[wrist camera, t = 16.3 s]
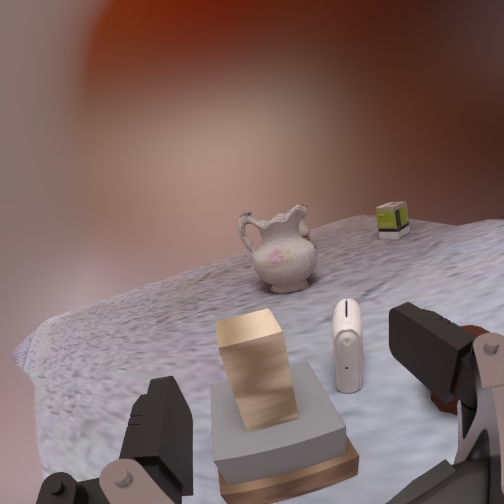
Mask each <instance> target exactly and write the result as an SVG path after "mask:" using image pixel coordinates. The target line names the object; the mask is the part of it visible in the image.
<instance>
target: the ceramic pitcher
mask: <svg viewBox="0 0 504 504" xmlns="http://www.w3.org/2000/svg"><path fill="white" fill-rule="evenodd" d="M306 215H307V210H306V209H305V208H304V207H303V206H300V205H296V206H295V207H293V208H292V209H290V210H289V211H288V212H287V213H286V214H278V215H277V216H275V217H274V218H273V219H272V220H270V221H266V220H262V221H256V220H255V219H254V218H253V217H252V216H251V212H244V213H241V216H240V219H239V223H238V231H239V235H240V238H241V240H242V242H243V243H244V245H245V246H246V248H247V249H249V250H250V252H251V255H252V260H253V264H254V268H255V271H256V273H257V274H258V276H259V277H260V278H261V279H262V280H264V281H265V282H266V283H268V284H272V285H273V286H272V287H271V291H273V292H275V293H278V294H281V293H287V292H293V291H299V290H304V289H306V288H308V287H309V286H310V285H309V283H308V281H307V280H306V278H308V277H309V276H310V275H311V274H312V272H313V270H314V268H315V266H316V262H317V253H316V250H315V247H314V245H313V244H312V243H311V242H309V241H308V240H306V239H304V238H303V237H302V236H301V235H300V232H299V223H300V221H301V219H302V218H303V217H304V216H306ZM246 224H253V225H254V226H256V227H257V228H258V229H259V231H260V233H261V237H262V244H261V246H260V248H259V249H258V250H255V248H254V246H253V245H252V242H251V241H250V239H249V238H248V237H247V235H246V233H245V225H246Z"/></svg>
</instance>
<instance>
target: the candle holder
mask: <svg viewBox="0 0 504 504" xmlns="http://www.w3.org/2000/svg"><path fill="white" fill-rule="evenodd" d="M300 206H303V207H307V204H301V205H300ZM293 207H295V206H291V209H292V208H293ZM304 217H305V216H304ZM304 217H303V218H302V219H301V221H300V223H299V232H300V235H301V236H302V237H303V238H304V239H306V240H308V241H309V239H310V237H309V236H308V235H309V233H310V231H309V229H308V227H307V226H306V224H305V220H304ZM312 244H313V243H312ZM314 247H315V248H316V246H315V245H314Z"/></svg>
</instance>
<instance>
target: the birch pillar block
mask: <svg viewBox="0 0 504 504" xmlns="http://www.w3.org/2000/svg"><path fill="white" fill-rule="evenodd" d="M216 330H217V339H218V348H219V351H220V354H221V358H222V361H223V364H224V367H225V370H226V373H227V376H228V379H229V382H230V385H231V388H232V391H233V394H234V397H235V400H236V402H237V405H238V408H239V411H240V414H241V416H242V419H243V422H244V425H245V427H246V430H247V432H250V431H255V430H259V429H263V428H266V427H270V426H274V425H277V424H281V423H284V422H288V421H291V420H294V419H297V418H299V416H298V411H297V405H296V400H295V394H294V389H293V383H292V378H291V373H290V367H289V362H288V357H287V351H286V346H285V341H284V336H283V331H282V329H281V328H280V326H279V324H278V323H277V321H276V320H275V318H274V316H273V315H272V313H271V311H270V310H269V308H268V309H264V310H260V311H256V312H253V313H249V314H245V315H241V316H237V317H233V318H229V319H225V320H220V321H216Z"/></svg>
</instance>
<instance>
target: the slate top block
mask: <svg viewBox="0 0 504 504" xmlns="http://www.w3.org/2000/svg"><path fill="white" fill-rule="evenodd" d="M289 367H290V373H291V378H292V383H293V389H294V394H295V400H296V405H297V411H298V416H299V418H297V419H294V420H291V421H288V422H284V423H281V424H277V425H274V426H270V427H266V428H263V429H259V430H255V431H250V432H247V430H246V427H245V425H244V422H243V419H242V416H241V414H240V411H239V408H238V405H237V402H236V400H235V397H234V394H233V391H232V388H231V385H230V382H229V381H227V382H222V383H217V384H212V385H210V388H211V420H212V442H213V460H214V463H215V464H216V466H217V467H218V469H219V471H220V472H221V474H222V476H223V477H224V479H225V480H226V482H227V484H228V485H232V484H238V483H244V482H249V481H255V480H260V479H264V478H269V477H273V476H277V475H282V474H285V473H289V472H293V471H296V470H300V469H303V468H307V467H310V466H313V465H316V464H319V463H322V462H325V461H328V460H331V459H334V458H336V457H339V456H342V455H344V454H345V453H346V425H345V424H344V422H343V420H342V419H341V417H340V415H339V414H338V412H337V410H336V409H335V407H334V405H333V404H332V402H331V400H330V399H329V397H328V395H327V394H326V392H325V390H324V389H323V387H322V385H321V384H320V382H319V380H318V378H317V377H316V375H315V373H314V372H313V370H312V368H311V367H310V365H309V363H308V362H307V361H305V362H301V363H298V364H294V365H291V366H289Z"/></svg>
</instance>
